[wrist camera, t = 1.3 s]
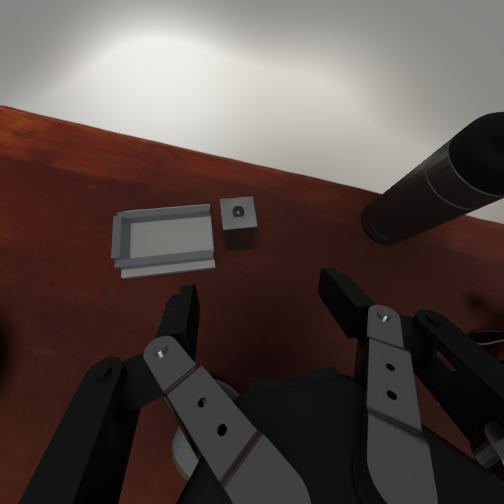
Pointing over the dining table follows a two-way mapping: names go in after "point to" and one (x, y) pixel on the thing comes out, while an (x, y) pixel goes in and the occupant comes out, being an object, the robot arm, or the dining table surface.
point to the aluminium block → (238, 222)
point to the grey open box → (163, 241)
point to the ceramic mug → (181, 447)
